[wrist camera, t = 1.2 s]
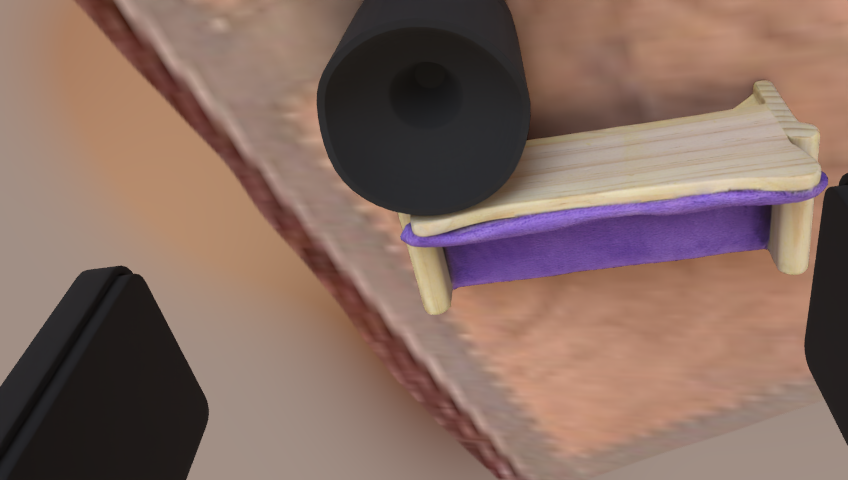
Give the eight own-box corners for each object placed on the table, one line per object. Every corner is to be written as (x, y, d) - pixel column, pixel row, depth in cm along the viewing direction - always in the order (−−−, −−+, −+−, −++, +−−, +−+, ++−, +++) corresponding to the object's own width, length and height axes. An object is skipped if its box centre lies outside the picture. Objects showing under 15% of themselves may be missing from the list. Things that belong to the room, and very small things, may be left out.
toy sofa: (431, 249, 48) (419, 362, 40) (401, 132, 44) (380, 233, 35) (772, 205, 45) (836, 319, 36) (780, 71, 40) (856, 168, 31)
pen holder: (315, 49, 41) (272, 135, 33) (421, -91, 36) (402, -32, 28) (446, 148, 44) (436, 249, 36) (559, 30, 39) (577, 115, 31)
